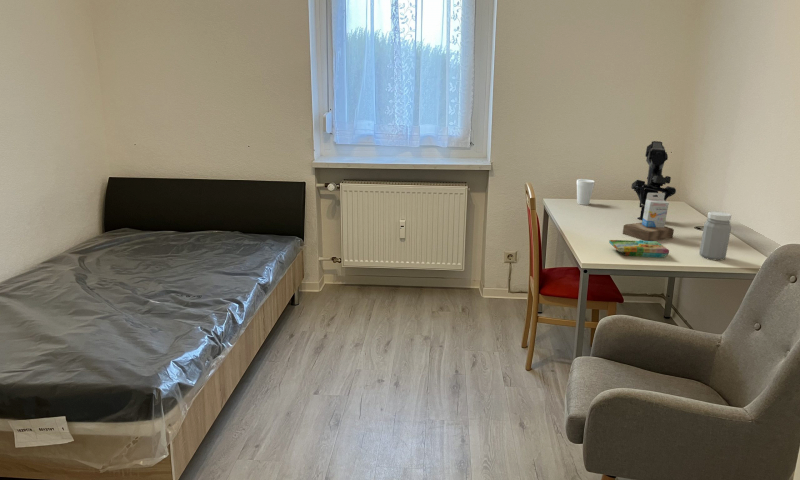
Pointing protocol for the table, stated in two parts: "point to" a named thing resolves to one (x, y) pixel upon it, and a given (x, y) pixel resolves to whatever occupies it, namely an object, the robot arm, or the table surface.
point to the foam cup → (584, 191)
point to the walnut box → (647, 232)
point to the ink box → (655, 210)
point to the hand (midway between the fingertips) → (651, 205)
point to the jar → (715, 235)
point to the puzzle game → (640, 248)
